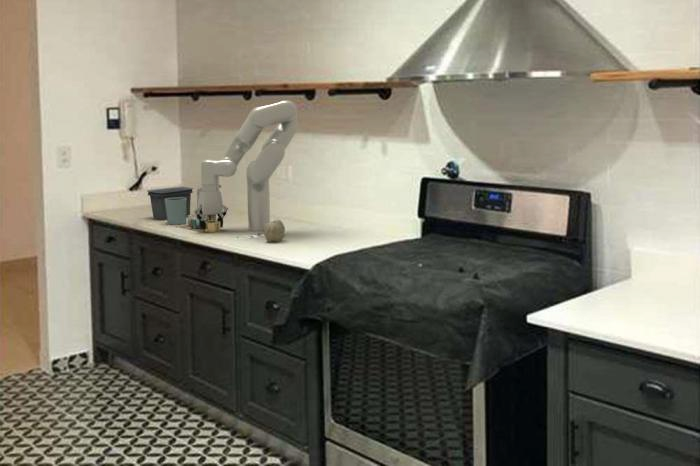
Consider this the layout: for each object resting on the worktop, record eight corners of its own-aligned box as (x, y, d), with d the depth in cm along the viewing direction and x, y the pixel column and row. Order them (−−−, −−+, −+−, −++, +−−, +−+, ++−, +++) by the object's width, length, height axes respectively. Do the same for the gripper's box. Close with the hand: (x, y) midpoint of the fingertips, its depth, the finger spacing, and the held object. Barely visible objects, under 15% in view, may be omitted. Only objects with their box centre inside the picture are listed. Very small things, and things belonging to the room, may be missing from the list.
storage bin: (160, 221, 395) (158, 192, 392) (143, 218, 405) (141, 189, 403) (197, 216, 409) (196, 188, 407) (180, 213, 420) (178, 186, 418)
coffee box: (210, 223, 388) (209, 189, 385) (197, 222, 389) (196, 189, 387) (217, 220, 397) (215, 187, 394) (204, 219, 398) (203, 186, 395)
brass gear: (223, 230, 355) (223, 221, 354) (208, 232, 350) (208, 223, 349) (214, 229, 360) (214, 220, 360) (199, 230, 356) (199, 221, 355)
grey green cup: (189, 224, 384) (188, 199, 382) (167, 225, 380) (166, 200, 378) (185, 221, 393) (184, 196, 391) (164, 222, 390) (162, 197, 388)
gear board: (227, 233, 357) (226, 219, 355) (205, 236, 349) (204, 221, 348) (196, 227, 376) (196, 213, 375) (175, 229, 369) (174, 215, 368)
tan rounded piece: (281, 245, 340) (288, 222, 341) (283, 245, 332) (289, 222, 332) (259, 239, 339) (266, 216, 339) (260, 239, 331) (267, 215, 331)
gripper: (222, 186, 361) (224, 225, 364) (188, 189, 350) (189, 229, 352) (232, 187, 355) (233, 227, 358) (197, 190, 344) (198, 231, 347)
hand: (211, 228), depth 355 cm, fingers open, 8 cm apart
